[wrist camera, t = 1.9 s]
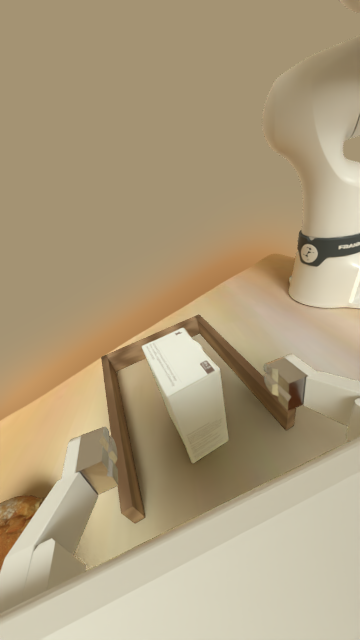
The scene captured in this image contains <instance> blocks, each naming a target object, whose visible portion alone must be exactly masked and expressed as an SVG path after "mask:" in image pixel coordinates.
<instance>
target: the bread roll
mask: <svg viewBox="0 0 360 640" xmlns="http://www.w3.org/2000/svg"><path fill="white" fill-rule="evenodd" d="M44 500H45V499H44V498H37V497H34V496H19V497H15V498H11V499H9V500H7V501H4V502H2V503H0V572H1V568H2V565H3V562H4V559H5V557H6V556H7V554H8V553H9V551H10V550H11V548H12V547H13V545H14V544H15V542H16V541H17V540H18V538H19V537H20V535H21V534H22V532H23V531H24V529H25V528H26V526H27V525H28V523H29V522H30V520H31V519H32V517H33V516H34V515H35V513H36V512H37V510H38V509H39V507H40V506H41V504H42V503H43V501H44Z"/></svg>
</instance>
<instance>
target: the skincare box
mask: <svg viewBox="0 0 360 640" xmlns="http://www.w3.org/2000/svg"><path fill="white" fill-rule="evenodd" d="M142 349H143V352H144V354H145V357H146V359H147V361H148V364H149V366H150V368H151V371H152V373H153V376H154V378H155V381H156V383H157V386H158V388H159V391H160V393H161V396H162V398H163V400H164V403H165V406H166V408H167V411H168V413H169V416H170V418H171V419H172V421H173V423H174V425H175V427H176V429H177V430H178V432H179V435H180V437H181V439H182V441H183V443H184V446H185V448H186V450H187V452H188V455H189V457H190V460H191V462H192V463H195V462H196V461H198V460H199V459H201V458H203V457H204V456H206V455H207V454H209V453H210V452H212V451H213V450H215V449H217V448H218V447H220V446H221V445H223V444H224V443H226V442H227V441H229V437H228V429H227V421H226V413H225V405H224V396H223V388H222V380H221V372H220V368H219V367H218V366H217V365H216V364H215V363H214V362H213V361H212V360H211V358H210V357H209V356H208V355H207V354H206V353H205V352H204V351H203V349H202V346H201V345H200V344H199V343H198V342H197V341H194V340H193V339H192V337H191V336H190V335H189V334H188V332H187V331H186V330H185V328H181V329H178V330H176V331H174V332H172V333H170V334H167V335H165V336H163V337H161V338H159V339H157V340H154V341H152V342H149V343H147V344H145V345H143V346H142Z"/></svg>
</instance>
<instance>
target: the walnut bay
mask: <svg viewBox="0 0 360 640" xmlns="http://www.w3.org/2000/svg"><path fill="white" fill-rule="evenodd" d="M181 328H185V330H186V331H187V332H188V334H189V335H190V336H191V337H193V336H195V335H197V334H199V333H200V334H201V335H202V336H203V338H204V339H205V340H206V341H207V342H208V343H209V344H210V345H211V347H212V348H213V349H214V350H215V351H216V352H217V353H218V354H219V356H220V357H221V358H222V359H223V360H224V361H225V362H226V363H227V364H228V366H229V367H230V368H231V369H232V370H233V371H234V372H235V373H236V375H237V376H238V377H239V378H240V379H241V380H242V381H243V382H244V384H245V385H246V386H247V387H248V388H249V389H250V390H251V391H252V393H253V394H254V395H255V396H256V397H257V398H258V399H259V400H260V402H261V403H262V404H263V405H264V406H265V407H266V408H267V409H268V411H269V412H270V413H271V414H272V415H273V416H274V417H275V418H276V420H277V421H278V422H279V423H280V424H281V425H282V426H283V427H284V429H285V430H288V429H289V428H291V427H292V426H294V419H295V412H296V408H294V409H291V410H289V411H288V410H287V409H286V408H285V407H284V406H283V405H282V404H281V403H280V402H279V401H278V396H276V395H273V394H272V393H271V392H270V391H269V390H268V388H267V387H266V384H265V382H264V377H263V376H262V375H261V374H260V373H259V372H258V371H257V370H256V369H255V368H254V367H253V366H252V365H251V364H250V363H249V362H248V361H247V360H245V359H244V358H243V357H242V356H241V355H240V354H239V353H238V352H237V351H236V350H235V349H234V348H233V347H232V346H231V345H230V344H229V343H228V342H227V341H226V340H225V339H224V338H223V337H222V336H221V335H220V334H219V333H218V332H217V331H216V330H215V329H214V328H212V327H211V326H210V325H209V324H208V323H207V322H206V321H205V320H204V319H203V318H202V317H201V316H200V315H196V316H194V317H192V318H190V319H187V320H185V321H183V322H180V323H178V324H176V325H174V326H171V327H169V328H167V329H164V330H162V331H160V332H158V333H155V334H153V335H151V336H148V337H146V338H144V339H141V340H139V341H137V342H135V343H132V344H130V345H128V346H125V347H123V348H121V349H119V350H116V351H114V352H112V353H109V354H107V355H105V356H103V357H101V359H102V366H103V374H104V382H105V390H106V398H107V406H108V414H109V421H110V429H111V437H113V439H114V441H115V444H116V448H117V458H118V459H117V461H116V463H115V465H116V467H117V469H118V492H119V500H120V508H121V513H122V514H123V515H124V516H126V517H127V518H128V519H130V520H131V521H132V522H133V523H137V522H138V521H140V520H142V519H143V518H145V514H144V509H143V504H142V499H141V494H140V490H139V485H138V480H137V475H136V470H135V465H134V460H133V455H132V450H131V445H130V440H129V435H128V430H127V425H126V420H125V415H124V410H123V405H122V400H121V395H120V390H119V385H118V380H117V375H116V371H118V370H121V369H123V368H125V367H127V366H129V365H132V364H134V363H136V362H138V361H140V360H143V359H145V358H146V357H145V354H144V352H143V349H142V346H143V345H145V344H147V343H149V342H152V341H154V340H157V339H159V338H161V337H163V336H165V335H167V334H170V333H172V332H174V331H176V330H178V329H181Z"/></svg>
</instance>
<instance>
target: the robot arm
mask: <svg viewBox="0 0 360 640" xmlns="http://www.w3.org/2000/svg"><path fill="white" fill-rule="evenodd" d="M339 1H340V2H341V3H342V4H343V5H344V6H345V7H347V8H348V9H350V10H351V11H354V12H356V13H360V0H339ZM262 126H263V133H264V137H265V139H266V141H267V143H268V145H269V146H270V147H271V149H272V150H274V151H275V152H276V153H278V154H280V155H281V156H283V157H284V158H286V160H287V161H288V162H289V163H290V164H291V165H292V166H293V168H294V169H295V171H296V172H297V174H298V177H299V179H300V182H301V185H302V192H303V220H302V230H301V231H300V232H299V237H298V252H297V254H296V258H295V263H294V268H293V273H292V276H290V277H289V283H290V287H289V290H288V292H289V295H290V296H291V297H292V298H293V299H294V300H296V301H298V302H300V303H302V304H305V305H309V306H314V307H321V308H337V307H349V308H360V163H359V162H356V161H351V160H348V159H346V158H345V157H344V154H343V143H344V141H346V140H348V139H350V138H353V137H357V136H360V35H358V36H356V37H354V38H351V39H349V40H347V41H344V42H342V43H339V44H337V45H335V46H332V47H330V48H327V49H325V50H322V51H320V52H318V53H315V54H313V55H311V56H309V57H307V58H306V59H304V60H303V61H301V62H300V63H298V64H297V65H295V66H293V67H292V68H290V69H289V70H288V71H286V72H285V73H283V74H282V75H280V76H279V77H278V78H277V79H276V80H275V82H274V84H273V85H272V87H271V89H270V91H269V94H268V96H267V99H266V102H265V106H264V110H263V118H262ZM264 371H265V372H266V374H265V376H264V382H265V384H266V387H267V388H268V390H269V391H270V392H271V393H272V394H273V395H276V396H278V401H279V402H280V403H281V404H282V405H283V406H284V407H285V408H286V409H287V410H288V411H289V410H291V409H294V408H296V407H299V406H301V405H303V406H305V407H308V408H310V409H312V410H314V411H316V412H318V413H320V414H322V415H325V416H327V417H329V418H331V419H333V420H335V421H337V422H340V423H342V424H344V425H346V426H348V429H347V432H346V439H347V440H348V441H349V442H347V443H345V444H343V445H341V446H339V447H337V448H335V449H333V450H331V451H329V452H327V453H325V454H323V455H321V456H319V457H317V458H314V459H312V460H310V461H308V462H306V463H304V464H302V465H300V466H298V467H296V468H294V469H292V470H290V471H288V472H286V473H284V474H282V475H280V476H278V477H276V478H274V479H272V480H270V481H268V482H266V483H264V484H262V485H260V486H258V487H256V488H254V489H252V490H249V491H247V492H245V493H243V494H241V495H239V496H237V497H235V498H233V499H231V500H229V501H227V502H225V503H223V504H221V505H219V506H217V507H215V508H213V509H211V510H209V511H207V512H205V513H203V514H201V515H199V516H197V517H195V518H193V519H191V520H189V521H187V522H185V523H182V524H180V525H178V526H176V527H174V528H172V529H170V530H168V531H166V532H164V533H162V534H160V535H158V536H156V537H154V538H152V539H150V540H148V541H146V542H144V543H142V544H140V545H138V546H136V547H134V548H132V549H130V550H128V551H126V552H124V553H122V554H120V555H118V556H116V557H114V558H112V559H109V560H107V561H105V562H103V563H101V564H99V565H97V566H95V567H93V568H91V569H89V570H87V571H86V565H85V564H84V563H83V562H82V561H80V560H79V559H78V558H76V557H75V556H74V553H75V550H76V548H77V546H78V543H79V541H80V539H81V536H82V534H83V531H84V529H85V527H86V524H87V522H88V520H89V517H90V515H91V513H92V510H93V508H94V505H95V503H96V501H97V498H98V495H99V494H101V493H103V492H105V491H107V490H109V489H112V488H114V487H116V486H118V469H117V467H116V465H115V463H116V461H117V459H118V458H117V448H116V444H115V441H114V439H113V437H110V436H109V431H108V429H107V428H106V427H103V428H100V429H97V430H94V431H92V432H89V433H86V434H83V435H81V436H78V437H76V438H73V439H71V440H70V441H69V443H68V447H67V452H66V457H65V462H64V467H63V472H62V477H61V479H60V480H58V481H57V482H56V484H55V485H54V487H53V488H52V490H51V491H50V492H49V494H48V495H47V497H46V498H45V500H44V501H43V503H42V504H41V506H40V507H39V509H38V510H37V512H36V513H35V515H34V516H33V517H32V519H31V520H30V522H29V523H28V525H27V526H26V528H25V529H24V531H23V532H22V534H21V535H20V537H19V538H18V540H17V541H16V542H15V544H14V545H13V547H12V548H11V550H10V551H9V553H8V554H7V556H6V557H5V559H4V562H3V565H2V568H1V572H0V640H360V381H357V380H353V379H349V378H345V377H341V376H337V375H333V374H330V373H326V372H322V371H320V372H317V371H316V370H314V369H313V368H312V367H310V366H309V365H307V364H306V363H305V362H303V361H302V360H300V359H299V358H298V357H296V356H295V355H293V354H288V355H286V356H283V357H281V358H278V359H276V360H273V361H271V362H268V363H266V364H265V365H264Z"/></svg>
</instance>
